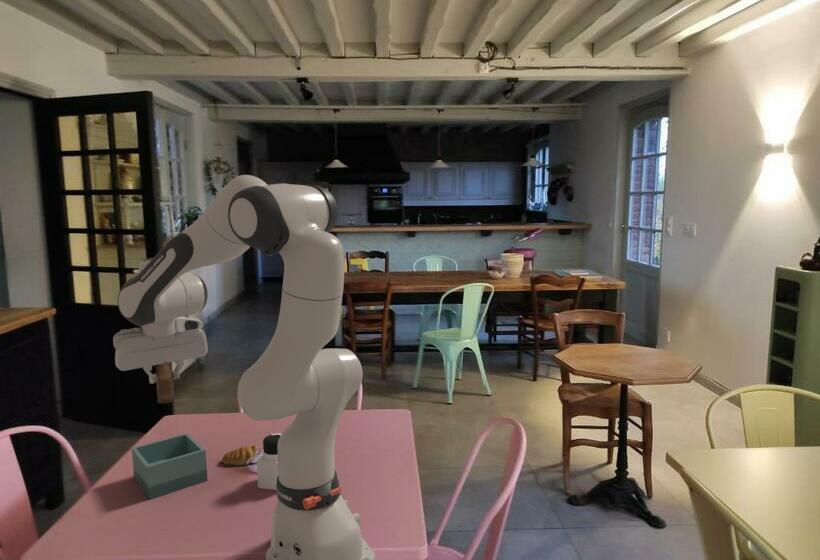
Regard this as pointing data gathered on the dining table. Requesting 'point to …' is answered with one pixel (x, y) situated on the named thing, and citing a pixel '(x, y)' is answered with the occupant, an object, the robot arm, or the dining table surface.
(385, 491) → the dining table surface
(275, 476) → the medicine bottle
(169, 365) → the peg
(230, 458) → the pastry
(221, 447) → the dining table surface
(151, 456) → the box
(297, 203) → the robot arm
